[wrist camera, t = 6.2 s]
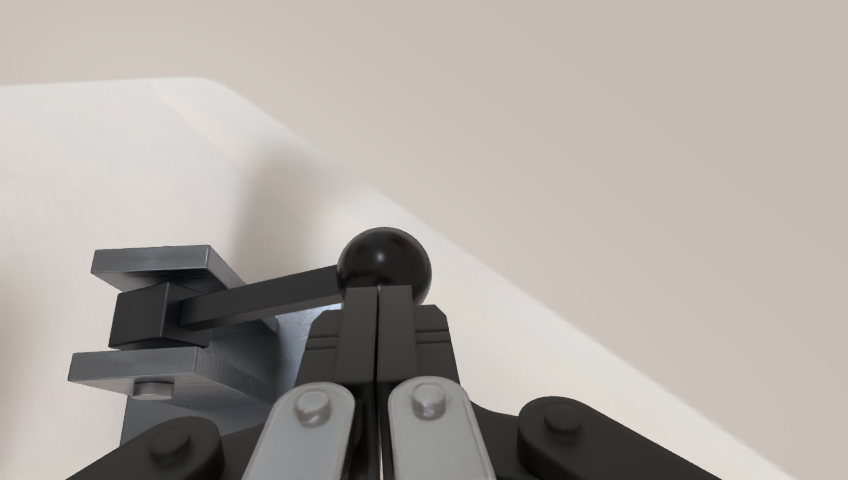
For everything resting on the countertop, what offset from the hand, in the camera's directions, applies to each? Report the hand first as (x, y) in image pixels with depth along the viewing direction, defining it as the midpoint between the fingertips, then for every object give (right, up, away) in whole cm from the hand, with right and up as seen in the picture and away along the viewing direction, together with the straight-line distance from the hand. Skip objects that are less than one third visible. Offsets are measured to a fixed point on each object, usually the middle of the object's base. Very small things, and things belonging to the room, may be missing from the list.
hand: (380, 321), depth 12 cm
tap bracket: (-10, -6, +19) cm, 22 cm away
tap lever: (-4, -1, +8) cm, 9 cm away
